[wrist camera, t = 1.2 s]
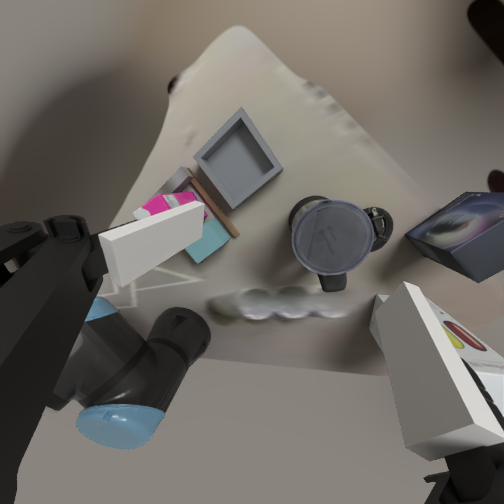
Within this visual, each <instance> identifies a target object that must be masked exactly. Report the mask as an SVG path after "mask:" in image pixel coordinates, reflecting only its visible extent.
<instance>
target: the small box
mask: <svg viewBox="0 0 504 504" xmlns="http://www.w3.org/2000/svg"><path fill="white" fill-rule="evenodd" d="M405 235H406V237H407V238H408V239H409V240H410V241H411V242H412V243H413V245H414V246H415V247H416V248H417V249H418V250H419V251H420V252H421V254H422V255H423V256H424V257H427V258H430V259H432V260H434V261H435V262H438V263H440V264H442V265H444V266H446V267H448V268H450V269H452V270H454V271H456V272H458V273H460V274H462V275H464V276H466V277H468V278H470V279H472V280H473V281H475V282H477V283H480V282H482V281H483V280H485V279H487V278H489V277H491V276H493V275H495V274H496V273H498V272H500V271H502V270H504V193H488V192H487V193H486V192H465V193H463V194H462V195H460V196H459V197H458V198H456V199H455V200H453V201H452V202H451V203H449V204H448V205H446V206H445V207H443V208H442V209H441V210H439V211H438V212H436V213H435V214H433V215H432V216H431V217H429V218H428V219H426V220H425V221H423V222H422V223H421V224H419V225H418V226H416V227H415V228H413V229H412V230H411V231H409V232H408V233H406V234H405Z"/></svg>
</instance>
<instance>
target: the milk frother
mask: <svg viewBox="0 0 504 504" xmlns="http://www.w3.org/2000/svg"><path fill="white" fill-rule="evenodd" d="M367 214H372V215H373V218H371V219H370V218H369V217H368V215H367ZM382 219H383V221H384V228H383V224H382ZM289 227H290V230H291V232H292V237H291V240H292V249H293V252H294V254H295V256H296V258H297V260H298V261H299V262H300V263H301V264H302V265H303V266H304V267H305V268H307V269H308V270H310V271H312V272H314V273H317V274H318V277H319V280H320V283H321V286H322V289H323V291H324V292H337V291H341V290H344V289H345V287H346V283H347V277H346V272H348V271H350V270H352V269H354V268H356V267H357V266H358V265H360V264H361V262H363V260H364V259H365V258H366V257H367V256H368V254H369V252H373V251H376V250H378V249H380V248H382V247H383V246H384V245H385V244H386V243H387V241H388V240H389V239H390V236H391V234H392V231H393V220H392V217H391V216H390V214H389V213H388V212H387V211H385V210H384V209H381V208H376V207H371V208H367V209H363V210H362V209H361V208H359V207H358V206H356V205H355V204H352V203H350V202H346V201H341V200H329V199H327V198H325V197H322V196H310V197H307V198H304V199H302V200H301V201H299V202H298V203H297V204H296V205H295V206H294V208H293V209H292V211H291V213H290V217H289ZM373 229H374V230H373ZM383 230H384V231H383ZM374 232H375V233H376V237H377V239H376V241H375V242H373V241H374Z"/></svg>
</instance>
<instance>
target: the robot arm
mask: <svg viewBox="0 0 504 504" xmlns="http://www.w3.org/2000/svg"><path fill="white" fill-rule="evenodd" d="M204 207H205V204H203V203H201V202H198V201H193V202H190V203H187V204H184V205H181V206H179V207H176V208H173V209H170V210H167V211H164V212H161V213H158V214H155V215H152V216H150V217H147V218H144V219H140V220H134V221H131V222H128V223H126V224H122V225H119V227H118V226H116V227H114V228H111V229H108V230H105V231H102V232H99V233H96V234H93V235H90V233H89V231H88V227H87V223H86V220H85V219H84V218H83V217H80V216H75V215H60V216H54V217H50V218H48V219H46V220H44V221H43V222H44V224H45V226H46V228H47V231H48V233H49V234H46V233H45V231H44V229H43V227H42V226H41V225H40V224H39V223H35V222H27V221H22V222H15V223H11V224H6V225H3V226H1V227H0V504H14V501H15V496H16V492H17V473H18V468H19V466H20V463H21V460H22V458H23V456H24V454H25V452H26V450H27V447H28V445H29V443H30V441H31V438H32V436H33V434H34V432H35V430H36V428H37V425H38V423H39V421H40V419H41V417H42V416H45V415H50V414H54V413H57V412H59V411H60V410H61V409H62V408H63V407H64V406H66V405H67V404H68V403H69V402H70V401H71V400H73V399H75V400H76V401H78V402H79V403H80V404H81V405H82V406H83V407H84V409H83V410H82V411H81V412H80V414H79V416H78V418H77V420H76V427H77V428H79V431H80V432H81V433H82V434H83V435H84V436H85V437H87V438H89V439H90V440H92V441H94V442H97V443H99V444H101V445H104V446H108V447H112V448H117V449H135V448H138V447H140V446H142V445H144V444H145V443H146V442H148V441H149V440H150V438H151V437H152V435H153V434H154V432H155V430H156V429H157V427H158V425H159V424H160V422H161V421H162V419H163V418H164V416H165V413H166V411H167V409H168V407H169V405H170V403H171V401H172V399H173V397H174V395H175V393H176V392H177V390H178V388H179V386H180V384H181V382H182V380H183V378H184V376H185V374H186V372H187V370H188V368H189V367H190V366H191V365H192V364H193V363H194V362H195V361H196V360H197V359H198V358H199V357H200V356H201V355H202V354H203V353H204V352H205V350H206V349H207V347H208V345H209V342H210V339H211V333H210V329H209V327H208V325H207V323H206V322H205V321H204V319H203V318H202V317H201V316H199V315H198V314H197V313H195V312H193V311H191V310H189V309H186V308H180V307H174V308H170V309H167V310H166V311H164V312H163V313H162V314H161V315H160V316H159V317H158V318H157V320H156V321H155V323H154V325H153V327H152V330H151V332H150V334H149V336H148V339H147V341H145V340H144V339H143V338H142V337H141V336H140V335H139V333H138V332H137V331H136V330H135V329H134V328H133V327H132V326H131V325H130V324H129V322H128V321H127V320H126V319H125V318H124V317H123V316H122V315H121V314H120V313H119V312H120V310H118V309H116V308H115V307H114V306H113V305H112V304H111V303H110V302H109V301H108V300H107V299H105V298H104V297H100V296H96V295H97V293H98V291H99V289H100V287H101V284H102V282H103V276H102V275H104V274H106V273H109V276H110V280H111V282H113V283H115V284H117V285H119V286H120V287H124V286H126V285H127V284H129V283H130V282H132V281H133V280H135V279H137V278H138V277H140V276H141V275H143V274H145V273H146V272H148V271H149V270H151V269H152V268H154V267H156V266H157V265H159V264H160V263H162V262H164V261H165V260H167V259H168V258H170V257H172V256H173V255H175V254H176V253H178V252H179V251H181V250H183V249H184V248H186V247H187V246H189V245H191V244H192V243H194V242H195V241H197V240H198V239H200V238H202V232H203V220H204ZM11 259H12V261H13V262H14V264H15V266H16V267H17V269H18V270H16V271H15V272H12V273H10V272H9V271H8V270H7V268H6V266H5V265H4V263H6V262H8V261H9V260H11ZM375 315H376V320H377V324H378V329H379V333H380V338H381V342H382V346H383V351H384V355H385V360H386V364H387V368H388V373H389V377H390V382H391V386H392V390H393V395H394V399H395V404H396V408H397V413H398V417H399V422H400V426H401V430H402V435H403V439H404V443H405V447H406V448H407V449H409V450H411V451H412V452H414V453H416V454H418V455H420V456H421V457H423V458H425V459H427V460H429V461H433V460H437V459H440V458H445V460H446V463H447V466H448V469H449V471H447V472H442V473H438V474H433V475H428V476H426V477H424V480H425V481H426V482H427V483H429V482H436V484H435V486H434V487H433V489H432V491H431V493H430V495H429V496H428V498H427V500H426V502H425V503H424V504H504V417H503V415H502V414H501V412H500V410H499V409H498V407H497V406H496V405H495V404H494V403H493V402H494V401H493V399H492V397H491V396H490V394H489V393H488V392H487V391H486V390H485V389H486V388H485V386H484V385H483V383H482V381H481V380H480V378H479V377H478V375H477V374H476V372H475V371H474V370H473V369H472V368H471V367H470V366H469V365H468V364H467V362H466V361H465V360H464V359H462V358H460V357H459V355H458V353H457V351H456V350H455V348H454V346H453V345H452V343H451V341H450V340H449V338H448V336H447V335H446V333H445V331H444V329H443V328H442V326H441V324H440V323H439V321H438V319H437V318H436V316H435V314H434V312H433V311H432V309H431V307H430V306H429V304H428V302H427V301H426V299H425V297H424V296H423V294H422V292H421V290H420V289H419V287H418V286H415V285H412V284H410V283H407V282H405V281H403V282H402V283H401V284H400V285H399V286H398V287H397V288H396V290H395V291H394V292H393V293H392V294H391V295H390V296H389V297H388V298H387V299H386V300H385V302H384V303H383V304H382V305H381V306H380V307H379V308H378V309H377V310H376V311H375Z"/></svg>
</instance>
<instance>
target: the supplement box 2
mask: <svg viewBox="0 0 504 504" xmlns="http://www.w3.org/2000/svg"><path fill="white" fill-rule="evenodd" d="M389 296H390V295H380V294H377V295H376V299H375V304H374V308H373V313H372V317H371V321H370V326H369V330H370V332H371V334H372V335H373V337H374V339H375V340H376V342H377V344H378V346H379V347H380V349H381V351H382V352H383V354H384V351H383V346H382V342H381V338H380V333H379V329H378V324H377V320H376V315H375V311H376V310H377V309H378V308H379V307H380V306H381V305H382V304H383V303H384V302H385V300H386V299H387V298H388V297H389ZM425 299H426V301H427V302H428V304H429V306H430V307H431V309H432V311H433V312H434V314H435V316H436V318H437V319H438V321H439V323H440V324H441V326H442V328H443V329H444V331H445V333H446V335H447V336H448V338H449V340H450V341H451V343H452V345H453V346H454V348H455V350H456V351H457V353H458V355H459V357H460V358H462V359H464V360H465V361H466V362H467V364H468V365H469V366H470V367H471V368H472V369H473V370H474V371H475V372H476V374H477V375H478V377H479V378H480V380H481V381H482V383H483V385H484V386H485V388H486V389H485V390H486V391H487V392H488V393H489V394H490V396H491V397H492V399H493V401H494V402H493V403H494V404H495V405H496V406H497V407H498V409H499V410H500V412H501V414H502V415H503V417H504V358H502V357H501V356H500V355H499V354H497V353H496V352H495V351H494V350H492V349H491V348H490V347H489V346H487V345H486V344H485V343H483V342H482V341H481V340H479V339H478V338H477V337H476V336H475V335H473V334H472V333H471V332H470V331H468V330H467V329H466V328H464V327H463V326H462V325H461V324H459V323H458V322H457V321H456V320H454V319H453V318H452V317H451V316H449V315H448V314H447V313H446V312H444V311H443V310H442V309H440V308H439V307H438V306H437V305H435V304H434V303H433V302H432V301H430V300H429V299H428V298H425ZM384 356H385V355H384Z"/></svg>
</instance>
